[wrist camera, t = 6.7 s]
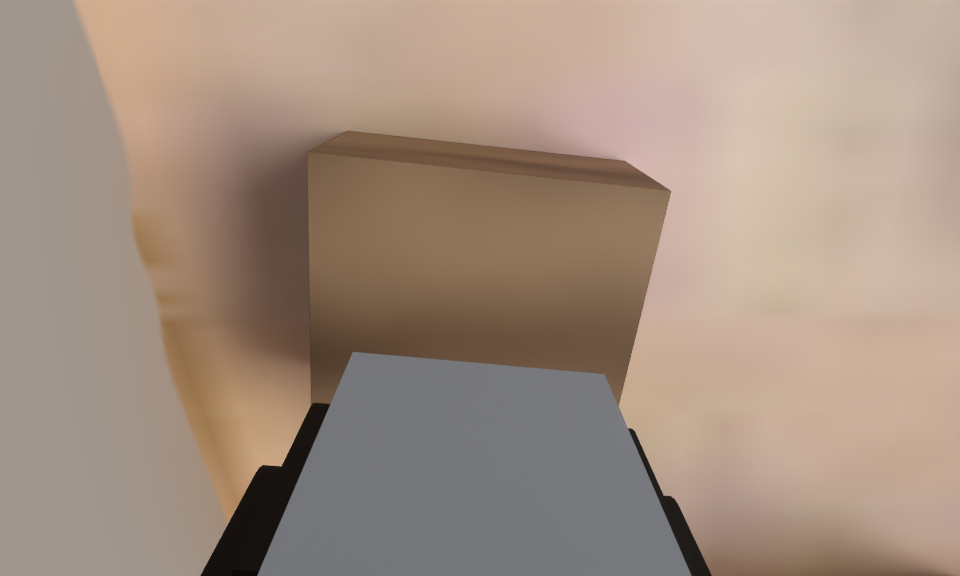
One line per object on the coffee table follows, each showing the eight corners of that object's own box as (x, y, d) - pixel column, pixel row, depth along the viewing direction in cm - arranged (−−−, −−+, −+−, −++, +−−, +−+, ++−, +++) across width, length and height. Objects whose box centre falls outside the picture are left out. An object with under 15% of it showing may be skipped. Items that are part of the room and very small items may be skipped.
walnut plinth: (348, 131, 19) (307, 152, 14) (625, 161, 20) (671, 191, 15) (345, 373, 23) (312, 451, 18) (576, 393, 23) (601, 474, 19)
